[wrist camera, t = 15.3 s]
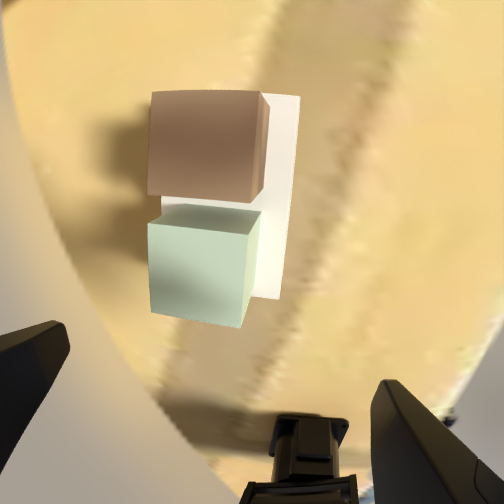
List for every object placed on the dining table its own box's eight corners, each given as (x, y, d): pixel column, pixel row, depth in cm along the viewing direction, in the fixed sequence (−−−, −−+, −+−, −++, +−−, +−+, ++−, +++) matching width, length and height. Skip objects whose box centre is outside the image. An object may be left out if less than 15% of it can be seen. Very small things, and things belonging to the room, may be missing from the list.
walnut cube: (263, 188, 16) (250, 203, 12) (184, 181, 16) (147, 194, 12) (270, 106, 14) (259, 91, 10) (189, 104, 15) (152, 91, 11)
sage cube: (254, 285, 18) (240, 328, 13) (182, 274, 18) (150, 312, 14) (261, 211, 16) (248, 235, 12) (184, 203, 17) (147, 223, 12)
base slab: (282, 278, 20) (278, 299, 18) (179, 265, 21) (162, 282, 18) (299, 104, 17) (300, 96, 14) (185, 99, 18) (166, 92, 15)
